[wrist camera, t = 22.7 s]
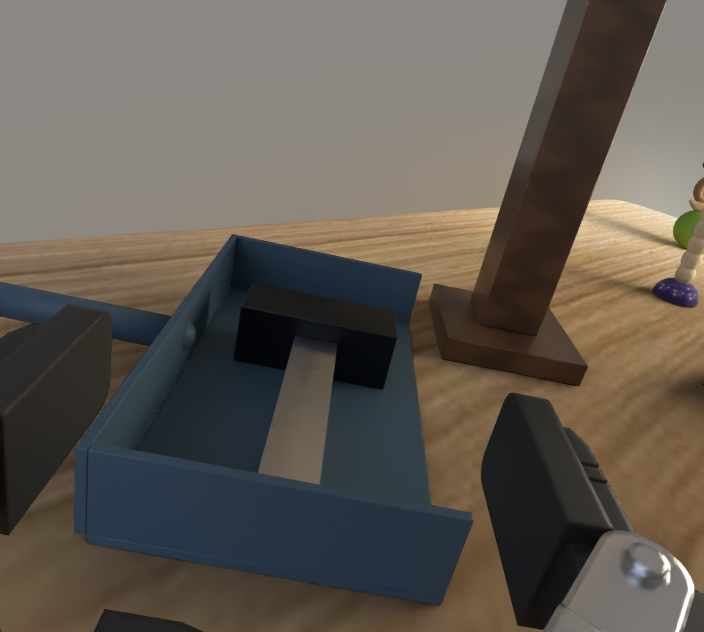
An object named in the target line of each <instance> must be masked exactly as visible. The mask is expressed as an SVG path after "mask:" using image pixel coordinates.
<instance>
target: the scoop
mask: <svg viewBox="0 0 704 632" xmlns="http://www.w3.org/2000/svg"><path fill="white" fill-rule="evenodd" d="M421 277H422V275H421V274H420V273H415V272H411V271H406V270H401V269H396V268H392V267H387V266H382V265H377V264H373V263H368V262H363V261H358V260H354V259H349V258H344V257H339V256H334V255H330V254H325V253H320V252H315V251H311V250H306V249H301V248H296V247H292V246H287V245H282V244H277V243H272V242H268V241H263V240H258V239H253V238H249V237H244V236H238V235H234V234H232V236H231V237H230V238H229V240H228V241H227V242H226V244H225V245H224V246H223V248H222V249H221V250H220V252H219V253H218V255H217V256H216V257H215V259H214V260H213V261H212V263H211V264H210V265H209V267H208V268H207V269H206V271H205V272H204V274H203V275H202V276H201V278H200V279H199V280H198V282H197V283H196V284H195V286H194V287H193V288H192V290H191V291H190V292H189V294H188V295H187V297H186V298H185V299H184V301H183V302H182V303H181V305H180V306H179V307H178V309H177V310H176V311H175V313H174V314H173V316H168V315H163V314H158V313H153V312H148V311H143V310H138V309H133V308H128V307H123V306H118V305H113V304H108V303H103V302H98V301H93V300H88V299H83V298H78V297H73V296H68V295H63V294H58V293H53V292H48V291H43V290H38V289H33V288H28V287H23V286H18V285H13V284H8V283H3V282H0V317H5V318H10V319H15V320H20V321H25V322H30V323H38V324H43V325H44V324H45V323H46V322H47V321H48V320H49V319H51V318H52V317H53V316H54V315H55V314H56V313H58V312H59V311H60V310H61V309H62V308H63V307H65V306H66V305H68V304H72V305H78V306H83V307H88V308H93V309H98V310H103V311H108V312H109V313H110V314H111V317H112V339H116V340H121V341H126V342H132V343H137V344H142V345H147V346H150V347H149V348H148V349H147V351H146V352H145V353H144V355H143V356H142V358H141V359H140V360H139V362H138V363H137V364H136V366H135V367H134V368H133V370H132V371H131V372H130V374H129V375H128V377H127V378H126V379H125V381H124V382H123V383H122V385H121V386H120V387H119V389H118V390H117V391H116V393H115V394H114V395H113V397H112V398H111V400H110V401H109V402H108V404H107V405H106V406H105V408H104V409H103V410H102V412H101V413H100V414H99V416H98V417H97V419H96V420H95V421H94V423H93V424H92V425H91V427H90V428H89V429H88V431H87V432H86V433H85V435H84V436H83V437H82V439H81V440H80V442H79V443H78V444H77V446H76V447H75V509H74V532H77V533H82V534H86V533H87V540H86V542H87V543H88V544H94V545H100V546H105V547H111V548H117V549H122V550H128V551H134V552H139V553H145V554H151V555H156V556H162V557H168V558H173V559H179V560H185V561H190V562H196V563H202V564H207V565H213V566H219V567H224V568H230V569H236V570H241V571H247V572H253V573H258V574H264V575H270V576H275V577H281V578H287V579H292V580H298V581H304V582H309V583H315V584H321V585H326V586H332V587H338V588H343V589H349V590H355V591H360V592H366V593H372V594H377V595H383V596H389V597H394V598H400V599H406V600H411V601H417V602H423V603H428V604H434V605H441V602H442V600H443V597H444V595H445V592H446V590H447V587H448V585H449V582H450V580H451V577H452V574H453V572H454V569H455V567H456V564H457V562H458V559H459V557H460V554H461V552H462V549H463V547H464V544H465V542H466V539H467V536H468V534H469V531H470V529H471V526H472V524H473V517H472V513H470V512H464V511H459V510H454V509H448V508H443V507H438V506H432V505H431V498H430V490H429V482H428V474H427V466H426V459H425V451H424V443H423V435H422V427H421V419H420V411H419V403H418V395H417V388H416V380H415V372H414V364H413V356H412V348H411V340H410V332H409V324H408V323H409V320H410V317H411V313H412V309H413V306H414V302H415V299H416V295H417V292H418V288H419V284H420V281H421ZM253 283H258V284H263V285H268V286H273V287H278V288H282V289H287V290H292V291H297V292H302V293H307V294H311V295H316V296H321V297H326V298H331V299H336V300H340V301H345V302H350V303H355V304H360V305H365V306H369V307H374V308H379V309H384V310H389V311H394V312H395V313H396V326H397V342H396V345H395V349H394V353H393V356H392V360H391V364H390V367H389V371H388V375H387V378H386V382H385V386H384V389H383V390H381V389H376V388H371V387H366V386H361V385H356V384H351V383H346V382H341V381H336V380H333V383H332V391H331V399H330V407H329V415H328V423H327V431H326V439H325V447H324V455H323V463H322V471H321V479H320V484H314V483H309V482H304V481H298V480H293V479H287V478H282V477H277V476H271V475H266V474H261V473H257V472H258V468H259V464H260V461H261V457H262V453H263V450H264V446H265V442H266V439H267V435H268V432H269V428H270V424H271V421H272V417H273V413H274V410H275V406H276V402H277V399H278V395H279V392H280V388H281V384H282V381H283V377H284V373H285V370H281V369H276V368H271V367H266V366H261V365H256V364H251V363H246V362H241V361H236V360H234V352H235V345H236V338H237V331H238V324H239V317H240V310H241V305H242V303H243V301H244V299H245V298H246V296H247V294H248V292H249V290H250V288H251V286H252V284H253ZM230 287H231V288H230ZM229 289H230V290H229ZM228 290H229V292H228ZM227 292H228V293H227ZM226 294H227V295H226ZM225 296H226V297H225ZM224 297H225V298H224ZM223 299H224V300H223ZM222 301H223V302H222ZM221 302H222V304H221ZM220 304H221V305H220ZM219 306H220V307H219ZM218 308H219V309H218ZM217 309H218V310H217ZM216 311H217V312H216ZM215 313H216V314H215ZM214 314H215V316H214ZM213 316H214V317H213ZM212 318H213V319H212ZM211 319H212V321H211ZM210 321H211V322H210ZM209 323H210V324H209ZM208 325H209V326H208ZM207 326H208V328H207ZM206 328H207V329H206ZM205 330H206V331H205ZM204 331H205V333H204ZM203 333H204V334H203ZM202 335H203V336H202ZM201 337H202V338H201ZM200 338H201V340H200ZM199 340H200V341H199ZM198 342H199V343H198ZM197 343H198V345H197ZM196 345H197V346H196ZM195 347H196V348H195ZM194 348H195V350H194ZM193 350H194V352H193ZM192 352H193V353H192ZM191 354H192V355H191ZM190 355H191V357H190ZM189 357H190V358H189ZM188 359H189V360H188ZM187 360H188V362H187ZM186 362H187V364H186ZM185 364H186V365H185ZM184 366H185V367H184ZM183 367H184V369H183ZM182 369H183V370H182ZM181 371H182V372H181ZM180 372H181V374H180ZM179 374H180V376H179ZM178 376H179V377H178ZM177 378H178V379H177ZM176 379H177V381H176ZM175 381H176V382H175ZM174 383H175V384H174ZM173 384H174V386H173ZM172 386H173V388H172ZM171 388H172V389H171ZM170 389H171V391H170ZM169 391H170V393H169ZM168 393H169V394H168ZM167 395H168V396H167ZM166 396H167V398H166ZM165 398H166V400H165ZM164 400H165V401H164ZM163 401H164V403H163ZM162 403H163V405H162ZM161 405H162V406H161ZM160 407H161V408H160ZM159 408H160V410H159ZM158 410H159V412H158ZM157 412H158V413H157ZM156 413H157V415H156ZM155 415H156V417H155ZM154 417H155V418H154ZM153 418H154V420H153ZM152 420H153V422H152ZM151 422H152V424H151ZM150 424H151V425H150ZM149 425H150V427H149ZM148 427H149V429H148ZM147 429H148V430H147ZM146 430H147V432H146ZM145 432H146V434H145ZM144 434H145V436H144ZM143 436H144V437H143ZM142 437H143V439H142ZM141 439H142V441H141ZM140 441H141V442H140ZM139 442H140V444H139ZM138 444H139V446H138ZM137 446H138V448H137ZM136 448H137V449H136ZM135 449H136V450H135Z"/></svg>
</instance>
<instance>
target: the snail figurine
mask: <svg viewBox="0 0 704 632" xmlns="http://www.w3.org/2000/svg"><path fill="white" fill-rule="evenodd" d="M693 195H694V198H695V200H696V201H694V200H689V203H690V205H691V207H692V208H693V209H694V210H693V211H689V212H686V213H684V214H683V215H682V216H680V217H679V218H678V219H677V221H676V222H675V224H674V227H673V235H674V238H675V240H676V242H677V243H678V244H679V245H681V246H682V247H684V248H687V244H688V241H689V239H690V238H691V237H692V236H693V230H694V227H695V225H696V223H697V222H698V221H699V220H700V214H701V211H702V209H703V207H704V178H702V179H701V180H700V181H699V182H698V183H697V184H696V186H695V188H694V191H693Z"/></svg>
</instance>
